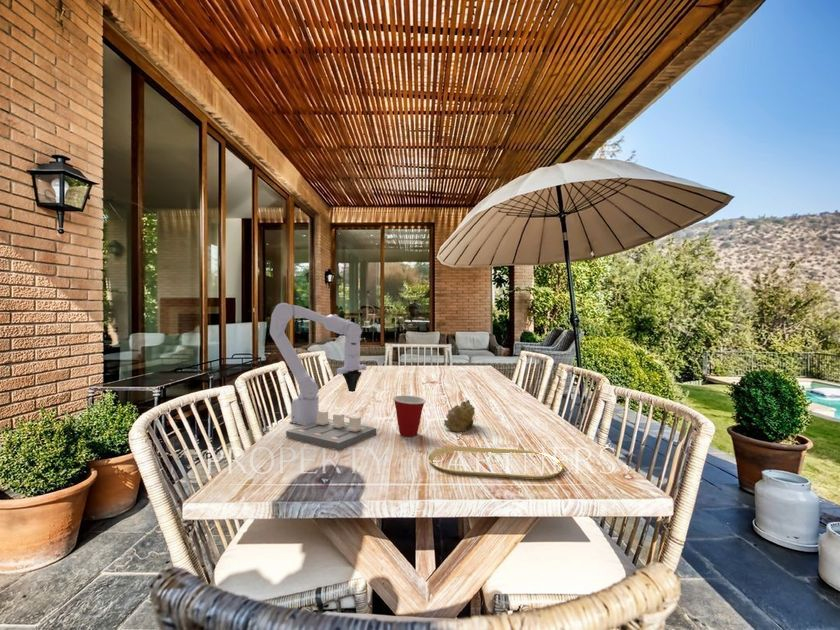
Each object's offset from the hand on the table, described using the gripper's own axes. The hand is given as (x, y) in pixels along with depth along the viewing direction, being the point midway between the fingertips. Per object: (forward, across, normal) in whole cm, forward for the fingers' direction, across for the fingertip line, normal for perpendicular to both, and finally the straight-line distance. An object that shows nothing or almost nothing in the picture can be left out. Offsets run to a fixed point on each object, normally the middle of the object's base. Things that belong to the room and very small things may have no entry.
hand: (351, 391), depth 152 cm
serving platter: (+11, -14, -61) cm, 64 cm away
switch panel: (+10, -19, -8) cm, 23 cm away
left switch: (+8, -16, -1) cm, 18 cm away
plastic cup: (+11, -4, -28) cm, 30 cm away
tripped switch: (+8, -16, -8) cm, 20 cm away
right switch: (+8, -16, -15) cm, 23 cm away
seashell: (+11, +13, -38) cm, 42 cm away
